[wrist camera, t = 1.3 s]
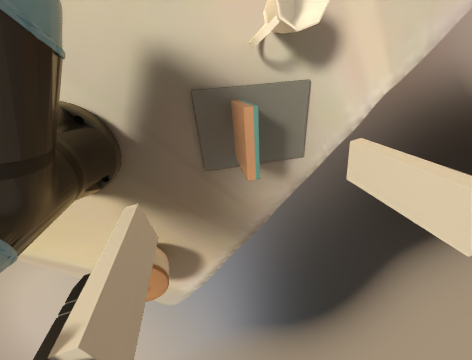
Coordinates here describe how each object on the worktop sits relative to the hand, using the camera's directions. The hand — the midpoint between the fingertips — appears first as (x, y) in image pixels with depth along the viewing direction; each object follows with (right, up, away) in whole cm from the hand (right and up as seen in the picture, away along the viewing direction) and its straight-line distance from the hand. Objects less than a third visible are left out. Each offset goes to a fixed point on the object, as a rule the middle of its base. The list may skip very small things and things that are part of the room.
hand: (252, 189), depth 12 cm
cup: (+4, +24, +17) cm, 29 cm away
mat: (+2, +10, +23) cm, 25 cm away
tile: (-1, +9, +22) cm, 24 cm away
